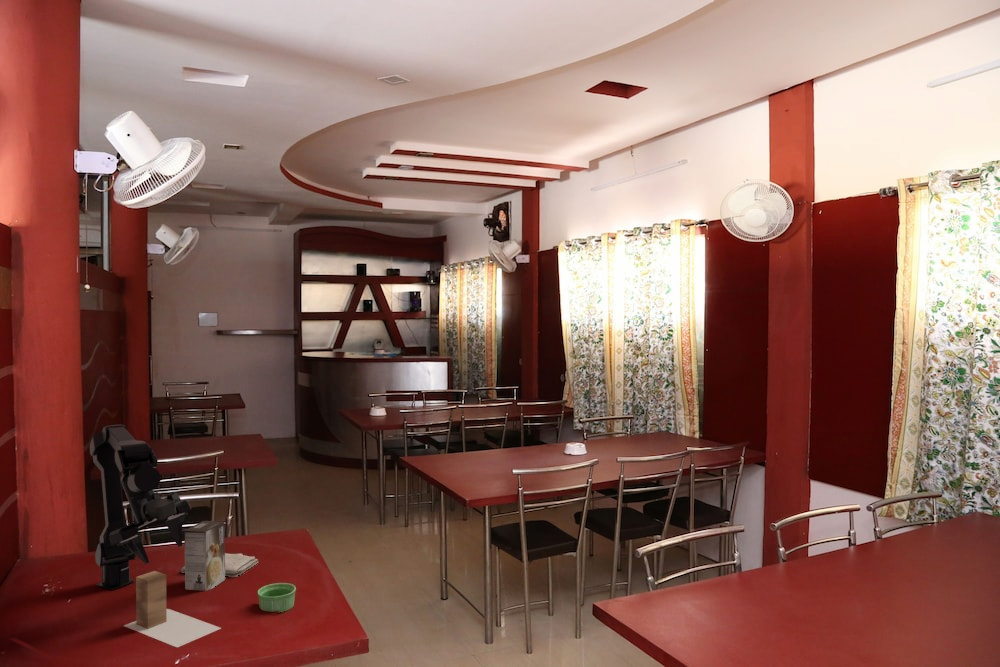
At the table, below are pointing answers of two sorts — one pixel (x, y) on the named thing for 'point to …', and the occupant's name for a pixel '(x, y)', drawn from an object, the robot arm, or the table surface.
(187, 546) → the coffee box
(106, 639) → the table surface
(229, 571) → the washcloth
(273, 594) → the ramekin
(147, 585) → the walnut block
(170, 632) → the mat
